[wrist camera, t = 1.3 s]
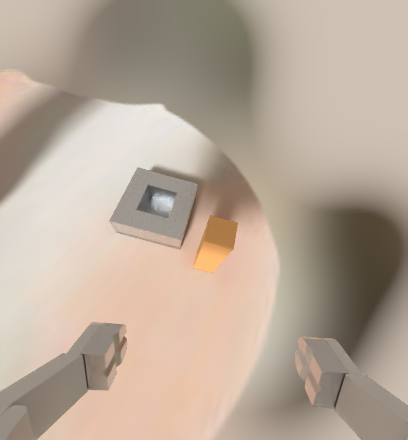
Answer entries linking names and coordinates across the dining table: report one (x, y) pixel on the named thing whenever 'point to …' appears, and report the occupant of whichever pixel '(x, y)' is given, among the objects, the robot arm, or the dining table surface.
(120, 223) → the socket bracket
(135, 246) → the dining table surface
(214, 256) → the rectangular peg
